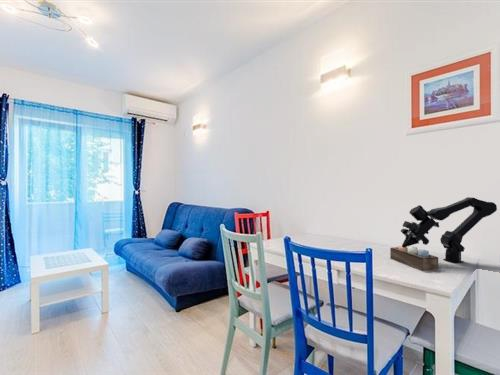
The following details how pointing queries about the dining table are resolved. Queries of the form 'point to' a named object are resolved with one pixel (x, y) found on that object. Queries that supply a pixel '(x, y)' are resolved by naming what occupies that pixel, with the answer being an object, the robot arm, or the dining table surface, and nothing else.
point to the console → (414, 259)
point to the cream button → (412, 250)
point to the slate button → (423, 253)
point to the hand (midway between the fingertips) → (402, 246)
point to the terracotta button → (402, 248)
